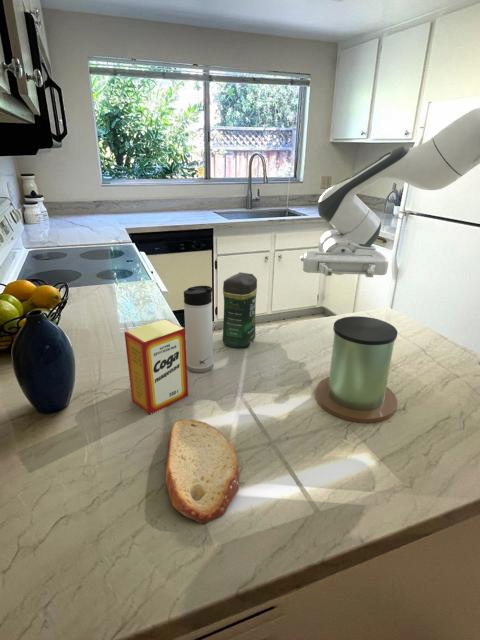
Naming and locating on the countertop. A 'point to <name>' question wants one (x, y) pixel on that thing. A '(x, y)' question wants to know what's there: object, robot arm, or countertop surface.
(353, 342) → the lidded mug on coaster
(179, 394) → the baking soda box
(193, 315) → the travel mug
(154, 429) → the countertop surface
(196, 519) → the slice of bread
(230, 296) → the coffee jar
